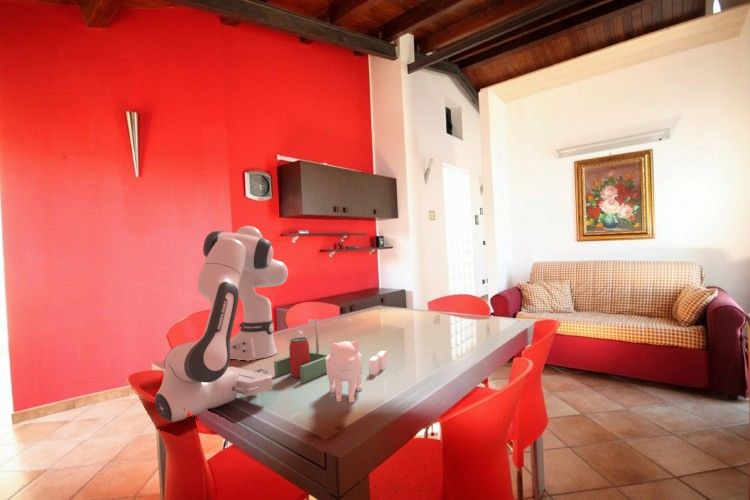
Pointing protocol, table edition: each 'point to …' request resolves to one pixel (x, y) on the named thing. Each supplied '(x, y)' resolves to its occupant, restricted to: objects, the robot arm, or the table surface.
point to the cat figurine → (344, 368)
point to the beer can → (298, 355)
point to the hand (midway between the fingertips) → (264, 371)
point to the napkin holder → (378, 362)
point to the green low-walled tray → (307, 370)
